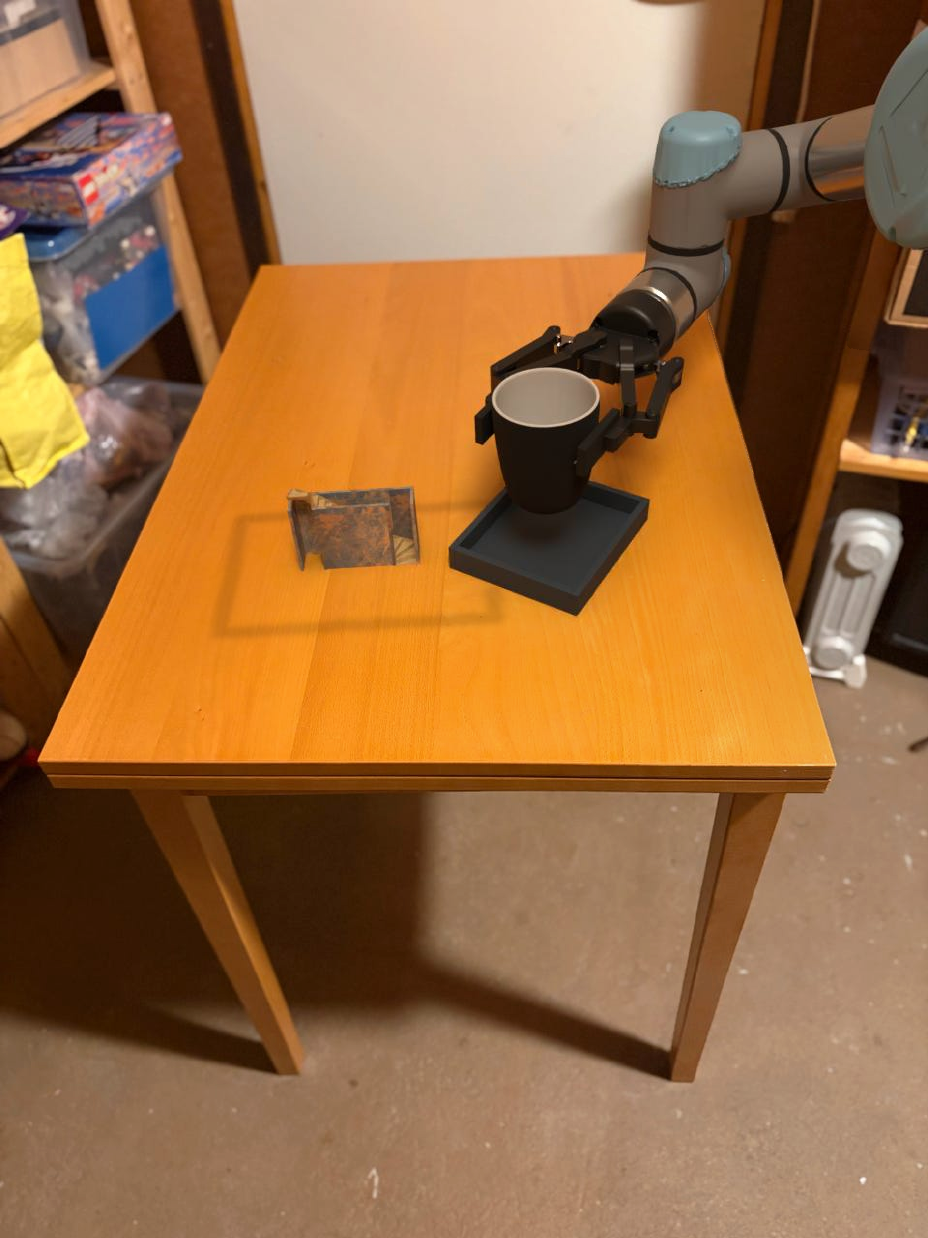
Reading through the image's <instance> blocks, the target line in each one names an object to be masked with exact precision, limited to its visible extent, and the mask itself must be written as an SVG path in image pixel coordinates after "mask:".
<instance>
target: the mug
mask: <svg viewBox="0 0 928 1238" xmlns="http://www.w3.org/2000/svg"><path fill="white" fill-rule="evenodd" d="M600 414H601V395H600V390H599V388H598V386H597V384H596V383H595V382H594V381H592V379H589V378H587V377H586V376H584V375H582V374H580V373H577V372H574V371H571V370H567V369H561V368H536V369H530V370H526V371H522V372H519V373H516V374H514V375H512V376H510V377H508V378H506V379H505V380H503V381H502V382H501V383H500V384H499V385H498V386H497V387H496V389H495V390H494V392H493V395H492V419H493V428H494V434H493V435H494V442H495V448H496V453H497V454H496V455H497V459H498V464H499V468H500V472H501V476H502V477H501V478H502V480H503V483H504V487H505V486H506V489H507V491H508V493H509V495H510V497H511V498H512V500H513V501H514V502H515V503H516V504H517V505H518V506H519V507H520V508H522V509H524V510H526V511H528V512H531V513H535V514H543V515H547V514H556V513H560V512H563V511H566V510H568V509H570V508H571V507H573V506H574V505H575V504H576V503H577V502H578V501H579V500H580V499H581V497H582V496H583V494H584V492H585V490H586V487H587V484H588V481H589V480H590V478H591V475H592V470H593V468H592V469H591V470H590V471H589V472H588V474H587V475H586V476H585V477H581V476H578V475H576V463H577V447H578V446H579V445H580V444H581V443H582V442H583V441H584V439H585V438H586V437H587V436H588V435H589V434H590V433H591V431H592V430H593V429H594V428H595V427H596V426H597V425H598V423H599V422H600Z"/></svg>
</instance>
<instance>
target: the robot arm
mask: <svg viewBox="0 0 928 1238" xmlns="http://www.w3.org/2000/svg"><path fill="white" fill-rule="evenodd" d="M655 149H656V150H655V154H654V159H653V160H654V161H653V167H652V173H651V174H652V177H651V178H652V182H651V198H650V212H649V213H650V214H649V226H648V228H649V229H648V231H647V237H646V247H645V248H646V249H645V257H644V265H643V268H642V269H641V270H640V271H639V272H638V273H637V274H636V275H635V277H633V279H631V280H630V281H629V282H628V283H627V284H626V285H625V286H624V287H623V288H622V289H621V290H620V291H619V292H618V293H616V295H615V296H614V297H613V298H612V299H611V300H610V301H608V303H607V304H606V305H605V306H604V307H603V308H602V309H600V311H599V312H598V313H597V314H596V316H595V317H594V318H593V320H592V322H591V323H590V325H589V326H588V328H587V329H586V330H584V331H580V332H578V333H576V334H575V336H572V335H567V334H562V333H561V331H562V330H561V327H560V325H556V324H553V325H549V326H548V327H547V328H546V330H545V331H544V333H542V335H540V336H539V337H537V338H536V339H533V340H532V341H531V342H528V343H527V344H525V345H524V346H522V347H520V348H518V349H516V350H515V351H513V352H512V353H510V354H508V355H507V356H505V357H502V359H499V360H498V361H496V362H494V363H493V364H491V365H490V366H489V371H490V374H489V375H490V392H489V393H488V394H487V395H486V396H485V399H484V401H485V402H484V406H483V407H482V408H481V409H480V410H479V411H478V412H477V413H476V414H475V415H474V416H473V419H474V420H473V421H474V443H475V444H478V445H481V446H484V445H485V443H487V442H488V441H489V440H490V439H491V438H492V437H493V435H494V428H493V419H492V395H493V392H494V390H495V389H496V387H497V386H498V385H499V384H500V383H501V382H502V381H503V380H505V379H506V378H508V377H510V376H512V375H514V374H516V373H519V372H522V371H526V370H530V369H536V368H561V369H567V370H571V371H574V372H577V373H580V374H582V375H584V376H586V377H587V378H589V379H590V380H597V381H598V380H599V381H600V382H603V383H604V384H609V385H610V386H611V385H612V386H614V385H615V384H616V387H617V397H618V408H616V407H611V408H610V410H609V411H608V412H606V414H605V415H604V416H603V418H601V420H599V423H598V425H597V426H596V427H595V428H594V429H593V430H592V431H591V433H590V434H589V435H588V436H587V437H586V438H585V439H584V441H583V442H582V443H581V444H580V445H579V446H578V447H577V463H576V475H578V476H581V477H585V476H586V475H587V474H588V472H589V471H590V470H591V469H592V470H593V468H594V466H595V465H597V463H598V462H599V461H600V459H601V458H602V457H603V456H604V455H605V453H606V452H609V453H612V454H614V453H616V452H617V451H619V450H620V449H621V447H622V446H623V445H624V444H625V442H627V440H628V439H629V438H631V437H633V436H635V434H641V435H642V437H643V438H645V439H647V440H654V439H656V438H657V437H658V434H659V431H660V429H661V425H662V422H663V420H664V416H665V413H666V410H667V407H668V404H669V401H670V398H671V396H672V393H674V392H675V391H676V390H677V389H678V388H679V387H681V385H682V381H683V372H684V366H685V358H683V357H682V356H673V357H671V358H670V359H669V360H664V359H665V358H666V357H667V356H668V354H669V353H670V352H671V350H672V349H673V348H674V347H675V345H676V344H677V343H679V341H680V340H681V339H682V337H684V335H685V334H686V333H687V332H688V330H690V328H691V327H692V326H693V324H694V323H695V322H696V321H697V320H698V319H699V318H700V317H701V315H703V313H705V311H707V310H708V309H709V308H711V306H712V305H713V304H714V303H715V302H716V301H717V299H718V297H719V296H720V295H721V294H722V292H723V289H724V287H725V286H726V285H727V282H728V280H729V277H730V275H731V270H732V269H731V267H732V264H731V256H730V254H729V251H728V247H727V246H726V244H725V239H726V235H727V230H728V224H729V221H733V220H740V219H745V218H749V217H755V216H761V215H766V214H771V213H775V212H782V211H788V210H796V209H801V208H806V207H813V206H822V205H829V204H836V203H837V204H838V203H841V202H847V201H854V200H863V199H866V204H867V207H868V211H869V214H870V217H871V219H872V221H873V223H874V226H876V228H877V229H878V231H879V232H880V234H881V235H882V236H883V237H884V238H886V240H887V241H889V242H892V243H896V244H897V245H898V246H900V247H902V248H908V249H910V250H913V251H928V26H927V27H925V28H924V29H923V30H921V31H920V32H919V33H918V34H917V35H916V36H915V37H914V38H913V39H912V40H911V41H910V42H909V43H908V45H906V47H905V48H904V49H903V51H902V52H901V53H900V54H899V56H898V57H897V59H896V60H895V62H894V63H893V65H892V67H891V68H890V70H889V72H888V74H887V75H886V77H885V79H884V81H883V84H882V85H881V88H880V90H879V93H878V95H877V97H876V100H875V103H874V104H871V105H867V106H863V107H860V108H856V109H853V110H848V111H845V112H841V113H838V114H832V115H829V116H825V117H821V118H817V119H813V120H810V121H803V122H799V123H792V124H788V125H784V126H783V125H782V126H777V127H773V128H772V127H771V128H764V129H763V128H762V129H756V130H755V129H754V130H748V131H743V132H742V125H741V123H740V121H739V120H738V119H737V118H736V117H735V116H733V115H732V114H730V113H726V112H722V111H717V110H705V111H703V110H702V111H701V110H690V111H685V112H680V113H677V114H675V115H673V116H671V117H670V118H668V119H667V120H666V121H665V122H664V123H663V124H662V126H661V128H660V131H659V134H658V139H657V144H656V148H655ZM654 374H655V383H654V386H653V387H652V391H651V394H650V397H649V399H648V402H647V404H646V408H645V411H643V410H642V411H640V410H638V403H639V401H637V390H636V380H638V379H642V378H646V377H650V376H652V375H654ZM592 470H591V471H592Z"/></svg>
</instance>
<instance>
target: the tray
mask: <svg viewBox="0 0 928 1238" xmlns="http://www.w3.org/2000/svg"><path fill="white" fill-rule="evenodd" d="M650 502H651V499H650V498H647V497H643V496H641V495H637V494H634V493H631V492H629V491H625V490H622V489H619V488H616V487H613V486H609V485H606V484H603V483H600V482H597V481H594V480H591V479H589V481H588V484H587V487H586V490H585V492H584V494H583V496H582V497H581V499H580V500H579V501H578V502H577V503H576V504H575V505H574V506H573V507H571V508H570V509H568V510H566V511H563V512H560V513H556V514H547V515H543V514H535V513H531V512H528V511H526V510H524V509H522V508H520V507H519V506H518V505H517V504H516V503H515V502H514V501H513V500H512V498H511V497H510V495H509V493H508V491H507V489H506V486H505V485H504V486H503V487H502V488H501V489H500V491H499V492H498V493H496V495H495V496H493V498H492V499H491V501H489V502H488V503H487V505H486V506H485V507H484V508H483V509H482V510H481V511H480V512H479V513H478V515H476V517H474V519H473V520H472V521H471V522H470V523H469V524H468V525H467V526H466V528H465V529H464V530H463V531H462V532H461V533H460V534H459V536H457V537H456V538H455V540H454V541H453V542H452V543H451V544H450V545H449V546H448V548H447V549H448V562H449V568H450V569H453V570H455V571H459V572H461V573H464V574H467V575H468V576H471V577H475V578H477V579H479V580H482V581H485V582H487V583H490V584H492V585H495V586H498V587H500V588H503V589H506V590H508V591H510V592H513V593H516V594H518V595H521V596H524V597H527V598H529V599H531V600H534V601H537V602H539V603H542V604H544V605H547V606H550V607H552V608H554V609H557V610H560V611H563V612H565V613H569V615H573V616H575V617H577V616H578V615H579V614H580V613H581V612H582V610H583V609H584V608H585V606H586V604H587V603H588V602H589V600H590V599H591V597H592V596H594V594H595V592H596V590H597V589H598V588H599V587H600V585H601V584H602V582H603V581H604V580H605V578H606V577H607V576H608V574H609V573H610V571H612V569H613V567H614V566H615V564H616V563H617V562H618V561H619V559H620V557H621V556H622V555H623V554H624V552H625V551H626V549H627V548H628V547H629V546H630V544H631V542H632V541H633V540H634V539H635V537H636V536H637V535H638V533H639V531H640V530H641V529H642V528H643V526H644V525H645V523H646V522H647V521H648V519H649V510H650Z"/></svg>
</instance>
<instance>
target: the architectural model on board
mask: <svg viewBox="0 0 928 1238" xmlns="http://www.w3.org/2000/svg"><path fill="white" fill-rule="evenodd" d="M285 499H286V500H287V501H288V503H287V510H286V512H287V517H288V521H289V525H290V529H291V534H292V539H293V542H294V546H295V547H294V548H295V552H296V555H297V560H298V564H299V565H298V566H299V569H300V571H301V572H304V571H305V566H306V560H307V556H313V555H321V560H322V565H323V570H325V571H327V570H334V569H335V570H336V569H337V570H338V569H353V568H367V567H368V568H369V567H371V568H372V567H387V566H389V567H390V566H393V567H394V566H395V567H398V566H414V565H415V566H416V567H417V566H418V565H421V544H420V537H419V535H420V534H419V527H418V517H417V507H416V497H415V488H414V486H413V485H412V486H395V487H378V488H362V489H343V490H326V491H325V490H324V491H307V490H303V489H298V488H295V487H291V488H290V489H289V491H288V493H287V494H286V495H285Z"/></svg>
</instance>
